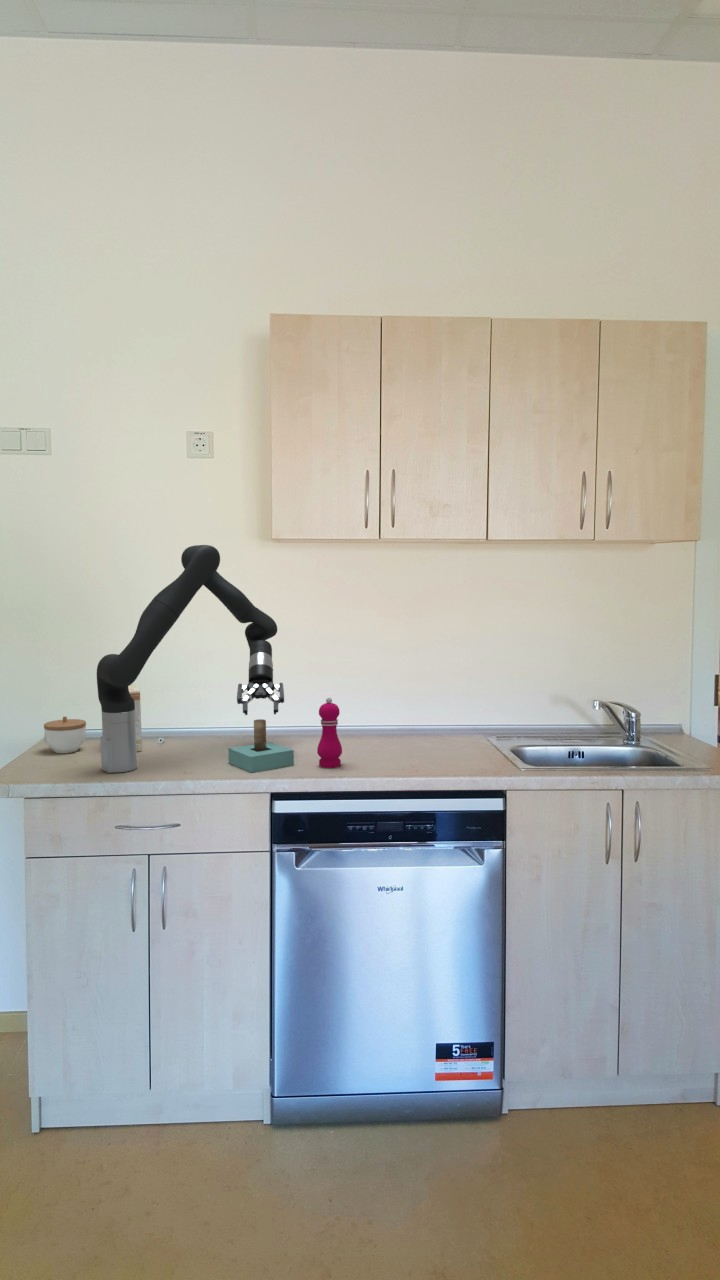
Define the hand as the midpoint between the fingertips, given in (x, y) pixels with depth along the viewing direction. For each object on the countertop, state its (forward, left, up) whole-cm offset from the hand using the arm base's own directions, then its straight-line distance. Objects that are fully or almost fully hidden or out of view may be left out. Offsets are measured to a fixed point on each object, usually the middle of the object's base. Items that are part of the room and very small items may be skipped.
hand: (260, 713), depth 243 cm
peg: (-3, -5, -14) cm, 15 cm away
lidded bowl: (-43, +49, -14) cm, 67 cm away
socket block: (-3, -5, -14) cm, 15 cm away
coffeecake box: (-26, +41, -14) cm, 51 cm away
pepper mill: (+12, -19, -14) cm, 27 cm away
